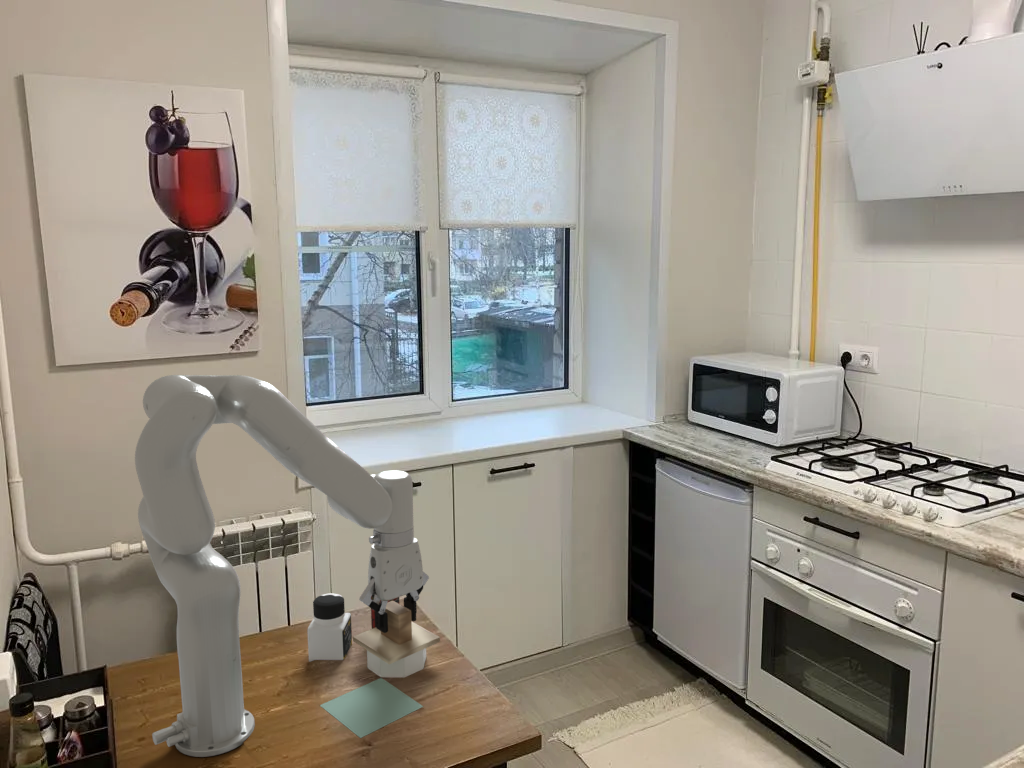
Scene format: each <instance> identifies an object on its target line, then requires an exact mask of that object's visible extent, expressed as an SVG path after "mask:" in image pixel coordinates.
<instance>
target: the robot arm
mask: <svg viewBox="0 0 1024 768" xmlns="http://www.w3.org/2000/svg"><path fill="white" fill-rule="evenodd" d="M142 405H143V410H144V412H145V414H146V416H147V417H148V418H149V419H148V420H147V422H146V423H145V425H144V427H143V429H142V430H141V432H140V435H139V438H138V441H137V444H136V447H135V453H134V464H135V465H134V466H135V470H136V475H137V479H138V482H139V485H140V488H141V493H142V495H143V496H142V498H141V500H140V502H139V505H138V510H137V518H138V519H137V520H138V524H139V528H140V531H141V534H142V537H143V539H144V540H143V541H144V542H145V545H146V548H147V550H148V553H149V557H150V560H151V562H152V564H153V567H154V570H155V573H156V575H157V577H158V579H159V582H160V583H161V584H162V585H163V587H164V588H165V589H166V591H167V592H168V593H169V594H170V596H171V597H172V599H173V600H174V601H175V603H176V606H177V608H176V609H177V621H176V622H177V623H176V646H177V647H176V649H177V657H178V658H177V659H178V668H179V670H178V671H179V681H180V683H179V684H180V694H181V696H180V697H181V705H182V706H181V707H182V712H179V713H177V714H176V721H173V722H172V723H171V725H170V726H168V727H165V728H161V729H159V730H157V731H154V732H152V733H151V736H152V742H153V743H154V745H155V746H156V745H159V744H161V743H163V742H166V744H167V747H168V748H171V747H173V746H175V748H176V750H178V752H179V753H182V754H183V755H187V756H189V757H196V758H198V757H199V758H204V757H205V758H207V757H215V756H218V755H222V754H224V753H225V754H226V753H228V752H230V751H233V750H235V749H237V748H238V747H240V746H242V744H244V742H245V741H246V740H247V739H248V738H249V737H251V735H252V734H253V732H254V730H255V726H256V723H255V717H254V715H253V713H251V712H250V711H249V710H248V709H245V705H244V704H245V702H244V687H243V673H242V671H243V669H242V659H241V658H242V656H241V643H240V629H239V622H240V621H239V617H240V616H239V615H240V614H239V612H240V611H239V610H240V602H241V582H240V578H239V575H238V573H237V571H236V569H235V568H234V566H233V565H232V564H231V563H230V562H229V560H227V559H226V558H225V557H224V556H223V555H222V554H220V552H218V551H216V550H215V549H214V548H213V546H212V544H211V541H212V539H213V537H214V535H215V530H216V521H215V520H216V519H215V516H214V512H213V509H212V507H211V504H210V502H209V498H208V496H207V493H206V490H205V487H204V484H203V481H202V477H201V476H200V475H201V474H200V471H199V467H198V463H197V451H198V447H199V445H200V443H201V441H202V439H203V438H204V436H205V435H206V434H207V432H208V431H210V429H211V428H212V426H213V425H218V424H234V425H236V426H237V427H239V428H240V429H242V430H243V431H244V432H246V433H247V435H248V436H250V437H251V438H252V439H253V440H254V441H255V442H256V443H258V445H260V446H261V447H262V448H263V449H264V450H265V451H266V452H267V453H268V454H269V455H271V457H273V458H274V459H275V460H276V461H277V462H278V463H279V464H281V465H282V466H283V467H284V468H285V469H286V470H287V471H289V472H290V473H291V474H293V475H294V476H296V478H299V479H300V480H301V481H302V482H303V481H304V482H306V483H307V484H309V485H310V486H312V487H314V488H315V489H317V490H318V491H320V492H321V493H323V495H325V496H326V498H327V503H328V505H329V507H330V508H331V510H333V511H334V512H335V513H336V514H337V515H340V516H341V517H343V518H345V519H347V520H349V521H351V522H352V523H354V524H356V525H358V526H359V527H361V528H364V529H367V530H368V529H369V530H370V529H371V530H372V536H369V537H368V542H369V543H370V544H371V546H370V551H369V560H368V569H367V570H368V575H367V578H368V579H367V586H366V587H365V588H364V591H363V592H362V593H361V594H360V596H359V602H361V603H363V604H364V605H366V606H367V607H369V608H370V610H371V609H373V610H374V611H375V626H376V628H377V629H378V630H380V631H382V632H383V633H386V632H388V614H387V613H386V612H385V609H386V605H387V602H388V601H389V600H392V599H395V598H397V597H399V598H400V597H402V596H405V597H404V598H403V606H404V607H406V608H408V609H410V610H411V620H412V622H414V623H415V622H416V621H417V601H419V599H420V595H421V592H422V591H423V590H424V586H425V585H426V584H427V582H428V580H429V579H430V577H429V575H428V574H427V573H426V572H424V570H423V568H424V567H423V560H422V553H421V549H420V544H419V541H418V539H417V538H416V537H415V531H414V527H415V526H414V493H413V492H414V491H413V488H414V487H413V486H414V485H413V478H412V475H411V474H410V473H408V472H407V471H403V470H400V469H393V470H392V469H390V470H384V471H380V472H378V473H376V474H370V473H369V472H368V471H367V470H366V469H365V468H364V467H363V466H362V465H361V464H359V462H357V461H355V459H353V458H352V457H351V456H350V455H349V454H347V453H346V452H345V451H344V450H343V449H341V448H340V446H338V445H337V444H336V443H335V442H334V441H333V440H331V439H330V438H329V437H328V436H327V435H326V434H324V432H322V431H321V430H320V429H319V428H318V427H317V426H316V425H315V424H314V423H313V422H312V421H311V420H309V418H307V416H306V415H305V414H303V412H301V411H300V409H299V408H297V407H296V406H295V405H294V404H293V402H291V401H290V400H289V399H288V398H287V397H286V396H285V395H284V393H282V392H281V391H280V390H279V389H278V388H276V387H275V386H274V385H273V384H271V383H269V382H267V381H264V380H262V379H258V378H256V377H253V376H248V375H242V374H240V375H239V374H237V375H235V374H234V375H232V374H231V375H230V374H229V375H228V374H227V375H226V374H223V375H221V374H220V375H217V374H216V375H213V374H212V375H207V374H205V375H200V374H198V375H197V374H190V375H189V374H171V375H169V374H168V375H166V376H165V375H164V376H161V377H159V378H157V379H155V380H154V381H152V382H151V383H150V384H149V385H148V386H147V388H146V389H145V391H144V393H143V397H142ZM372 595H375V596H374V600H373V601H372V600H371V596H372ZM380 599H381V602H380ZM379 603H380V605H379Z"/></svg>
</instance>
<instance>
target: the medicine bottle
mask: <svg viewBox="0 0 1024 768" xmlns="http://www.w3.org/2000/svg"><path fill="white" fill-rule="evenodd" d="M312 608H313V612H312V613H313V618H312V620H311V621H310V623H309V625H308V627H307V630H306V631H307V648H308V649H307V650H308V651H307V653H308V662H310V663H311V662H313V661H317V660H318V661H344V660H345V659H346V657H347V656H348V653H349V651H350V648H351V646H352V645H353V635H352V634H353V632H352V629H353V628H352V615H351V613H350V612H345V598H344V597H343V596H342V594H339V593H333V592H332V593H331V592H329V593H324V594H320V595H319V596H318V595H317V596H316V598H315V599H314V600H313V601H312Z"/></svg>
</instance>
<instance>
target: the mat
mask: <svg viewBox="0 0 1024 768" xmlns="http://www.w3.org/2000/svg"><path fill="white" fill-rule="evenodd" d="M319 707H321V708H322V709H324V710H325V711H326V712H327V713H329V715H331V716H332V717H333V718H334V719H336V720H337V721H338V722H339V723H340V724H341V725H343V726H345V727H346V728H347V729H348V730H350V731H351V732H352V733H354V734H355V736H357V737H358V738H359V739H362V738H364V737H366V736H368V735H370V734H372V733H374V732H376V731H378V730H380V729H382V728H383V727H386V726H388V725H389V724H392V723H394V722H396V721H398V720H400V719H401V718H404V717H406V716H408V715H410V714H411V713H413V712H415V711H417V710H420V709H421V708H424V706H423V705H422V704H421V703H419V702H418V701H417V700H414V698H412V697H410V696H409V695H407V694H406V693H404V692H403V691H401V690H400V689H398V688H397V687H396V686H394V685H393V684H391V683H390V682H388V681H387V680H385V679H383V677H380V678H377V679H376V680H373V681H371V682H369V683H366V684H363V685H362V686H360V687H357V688H356V689H353V690H350V691H348V692H347V693H344V694H341V695H339V696H337V697H335V698H333V699H331V700H328V701H325V702H323V703H322V704H320V705H319Z"/></svg>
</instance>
